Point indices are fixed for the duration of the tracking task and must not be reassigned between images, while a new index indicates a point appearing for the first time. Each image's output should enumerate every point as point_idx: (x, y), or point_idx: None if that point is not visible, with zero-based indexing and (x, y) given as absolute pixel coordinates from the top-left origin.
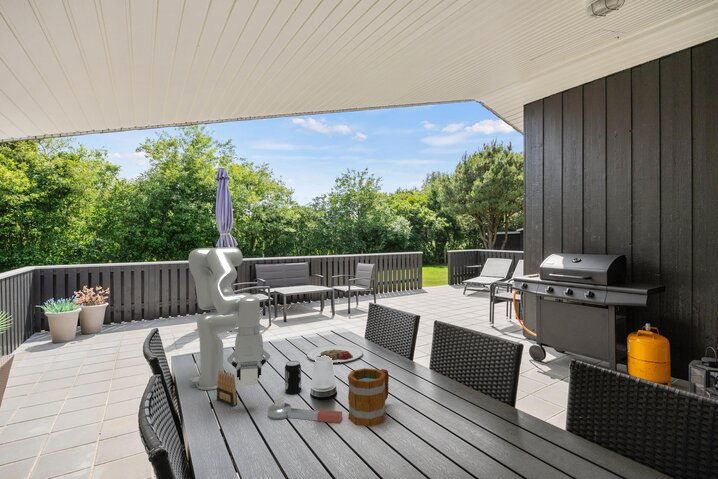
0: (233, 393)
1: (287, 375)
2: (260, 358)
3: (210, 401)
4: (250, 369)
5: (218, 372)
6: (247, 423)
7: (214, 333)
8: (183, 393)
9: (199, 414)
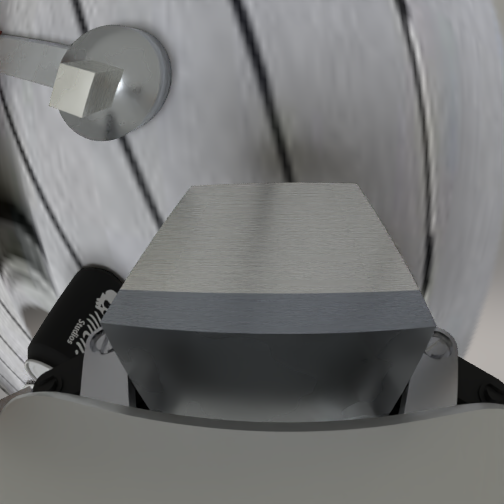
0: None
1: (82, 333)
2: (12, 421)
3: (424, 294)
4: (241, 286)
5: None
6: (278, 15)
7: None
8: (465, 353)
9: (477, 197)
